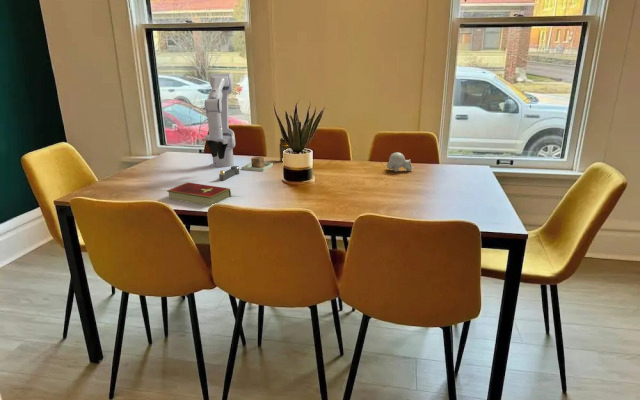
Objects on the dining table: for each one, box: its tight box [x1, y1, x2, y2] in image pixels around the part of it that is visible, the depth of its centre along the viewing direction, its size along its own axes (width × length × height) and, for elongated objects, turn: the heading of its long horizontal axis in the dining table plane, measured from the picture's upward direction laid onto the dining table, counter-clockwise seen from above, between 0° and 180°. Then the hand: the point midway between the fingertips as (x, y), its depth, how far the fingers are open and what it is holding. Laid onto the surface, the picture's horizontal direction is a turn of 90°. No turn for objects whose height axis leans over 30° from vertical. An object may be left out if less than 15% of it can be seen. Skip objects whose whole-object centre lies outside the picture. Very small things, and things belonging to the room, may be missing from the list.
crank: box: [218, 165, 240, 182], centre depth 192 cm, size 13×4×4 cm, turn 160°
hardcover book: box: [166, 182, 232, 206], centre depth 168 cm, size 12×21×4 cm, turn 65°
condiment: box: [279, 137, 288, 162], centre depth 216 cm, size 7×8×12 cm
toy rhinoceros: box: [386, 151, 415, 173], centre depth 199 cm, size 7×12×8 cm, turn 80°
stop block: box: [250, 155, 265, 168], centre depth 206 cm, size 4×4×5 cm
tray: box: [241, 161, 274, 172], centre depth 206 cm, size 11×11×2 cm
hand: (218, 157), depth 192 cm, fingers open, 5 cm apart
